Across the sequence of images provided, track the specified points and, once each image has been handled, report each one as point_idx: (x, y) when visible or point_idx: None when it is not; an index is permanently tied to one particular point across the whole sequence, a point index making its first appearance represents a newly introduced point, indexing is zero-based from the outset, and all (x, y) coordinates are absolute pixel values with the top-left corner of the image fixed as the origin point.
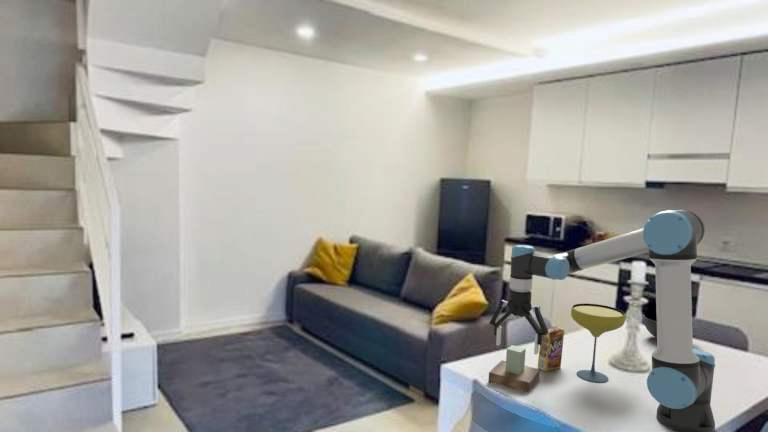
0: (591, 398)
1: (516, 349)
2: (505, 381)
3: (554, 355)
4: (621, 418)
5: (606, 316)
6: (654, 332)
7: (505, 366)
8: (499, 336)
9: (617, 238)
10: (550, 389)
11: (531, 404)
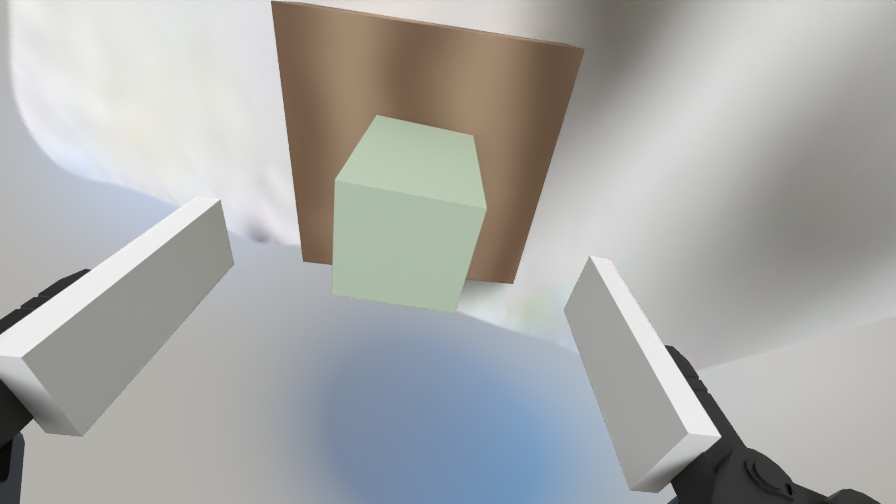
0: (806, 183)
1: (408, 272)
2: None
3: None
4: (840, 301)
5: None
6: None
7: (345, 129)
8: (170, 304)
9: None
10: (613, 175)
11: (520, 332)
